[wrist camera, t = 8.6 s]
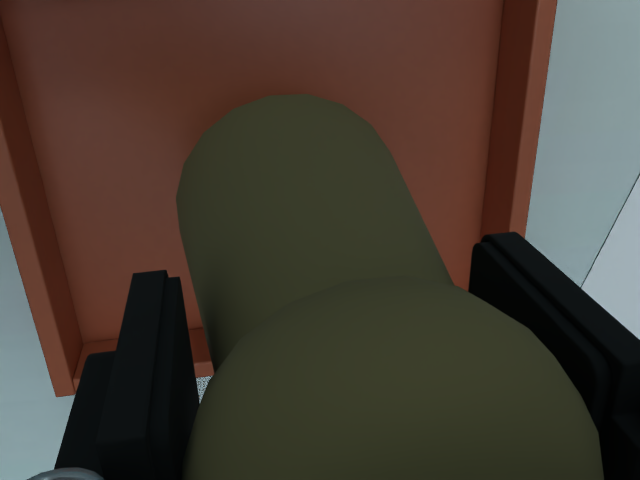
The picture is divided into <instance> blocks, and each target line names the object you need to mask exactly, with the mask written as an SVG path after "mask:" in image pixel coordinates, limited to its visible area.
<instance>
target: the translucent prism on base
mask: <svg viewBox="0 0 640 480" xmlns="http://www.w3.org/2000/svg"><path fill="white" fill-rule="evenodd" d="M581 289H582V290H583V291H585V292H586V293H587V294H588V295H589V296H590V297H591V298H593V299H594V300H595V301H596V302H597V303H598V304H599V305H601V306H602V307H603V308H604V309H605V310H606V311H607V312H609V313H610V314H611V315H612V316H613V317H614V318H615V319H617V320H618V321H619V322H620V323H621V324H622V325H623V326H625V327H626V328H627V329H628V330H629V331H630V332H631V333H632V334H634V335H635V336H636V337H637V338H638V339H639V340H640V176H639V178H638V180H637V182H636V184H635V186H634V188H633V190H632V192H631V194H630V195H629V197H628V199H627V201H626V203H625V205H624V207H623V209H622V211H621V213H620V215H619V217H618V218H617V220H616V222H615V224H614V226H613V228H612V230H611V232H610V234H609V236H608V238H607V240H606V242H605V243H604V245H603V247H602V249H601V251H600V253H599V255H598V257H597V259H596V261H595V263H594V265H593V266H592V268H591V270H590V272H589V274H588V276H587V278H586V280H585V282H584V284H583V286H582V288H581Z"/></svg>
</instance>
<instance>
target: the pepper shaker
mask: <svg viewBox="0 0 640 480" xmlns="http://www.w3.org/2000/svg"><path fill="white" fill-rule="evenodd" d="M176 205H177V213H178V222H179V230H180V235H181V239H182V243H183V247H184V251H185V255H186V259H187V264H188V268H189V272H190V276H191V280H192V284H193V288H194V292H195V296H196V300H197V304H198V309H199V313H200V317H201V321H202V325H203V329H204V333H205V337H206V341H207V345H208V349H209V354H210V358H211V362H212V366H213V370H214V375H213V377H212V378H211V379H210V381H209V382H208V385H207V387H206V390H205V392H204V395H203V398H202V400H201V403H200V405H199V408H198V410H197V414H196V417H195V421H194V424H193V427H192V431H191V434H190V438H189V441H188V445H187V448H186V451H185V455H184V458H183V463H182V479H181V480H604V474H603V466H602V458H601V450H600V442H599V435H598V431H597V429H596V427H595V425H594V422H593V420H592V418H591V416H590V414H589V412H588V409H587V407H586V405H585V403H584V401H583V399H582V396H581V395H580V393H579V392H578V390H577V389H576V387H575V386H574V384H573V383H572V381H571V380H570V378H569V377H568V376H567V374H566V373H565V371H564V370H563V368H562V367H561V365H560V364H559V362H558V361H557V359H556V358H555V356H554V355H553V354H552V353H551V352H550V351H549V350H548V349H547V348H546V347H545V345H544V344H543V343H542V342H541V341H540V340H539V339H538V338H537V337H536V336H535V335H534V334H533V332H532V331H531V330H530V329H529V328H527V327H526V326H524V325H522V324H521V323H519V322H517V321H516V320H514V319H513V318H511V317H509V316H508V315H506V314H505V313H503V312H501V311H500V310H498V309H496V308H495V307H493V306H492V305H490V304H488V303H487V302H485V301H483V300H482V299H480V298H478V297H476V296H475V295H473V294H471V293H469V292H467V291H466V290H464V289H462V288H460V287H459V286H455V285H454V283H453V281H452V279H451V277H450V275H449V273H448V270H447V268H446V266H445V264H444V262H443V260H442V258H441V256H440V254H439V252H438V250H437V248H436V246H435V243H434V241H433V239H432V237H431V235H430V233H429V231H428V229H427V227H426V225H425V223H424V221H423V218H422V216H421V214H420V212H419V210H418V208H417V206H416V204H415V202H414V200H413V198H412V196H411V193H410V191H409V189H408V187H407V185H406V183H405V181H404V179H403V177H402V175H401V173H400V171H399V168H398V166H397V164H396V162H395V160H394V158H393V156H392V154H391V152H390V150H389V149H388V148H387V146H386V145H385V143H384V142H383V140H382V139H381V138H380V136H379V135H378V133H377V132H376V130H375V129H374V128H373V126H372V125H371V124H370V123H369V122H367V121H366V120H364V119H363V118H361V117H360V116H359V115H357V114H356V113H354V112H353V111H352V110H350V109H349V108H347V107H346V106H345V105H343V104H340V103H337V102H334V101H330V100H327V99H323V98H320V97H316V96H313V95H310V94H292V95H269V96H266V97H264V98H261V99H258V100H256V101H253V102H250V103H248V104H245V105H242V106H240V107H237V108H234V109H232V110H231V111H230V112H229V113H227V114H226V115H225V116H224V117H222V118H221V119H220V120H219V121H217V122H216V123H215V124H214V125H212V126H211V127H210V128H209V129H207V130H206V131H205V132H204V133H203V134H202V136H201V137H200V139H199V140H198V142H197V144H196V145H195V147H194V148H193V150H192V151H191V153H190V155H189V156H188V158H187V159H186V161H185V162H184V164H183V169H182V173H181V177H180V181H179V186H178V190H177V194H176Z"/></svg>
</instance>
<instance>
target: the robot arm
mask: <svg viewBox="0 0 640 480" xmlns="http://www.w3.org/2000/svg"><path fill="white" fill-rule="evenodd" d="M468 292H469V293H471V294H473V295H475V296H476V297H478V298H480V299H482V300H483V301H485V302H487V303H488V304H490V305H492V306H493V307H495V308H496V309H498V310H500V311H501V312H503V313H505V314H506V315H508V316H509V317H511V318H513V319H514V320H516V321H517V322H519V323H521V324H522V325H524V326H526V327H527V328H529V329H530V330H531V331H532V332H533V334H534V335H535V336H536V337H537V338H538V339H539V340H540V341H541V342H542V343H543V344H544V345H545V347H546V348H547V349H548V350H549V351H550V352H551V353H552V354H553V355H554V356H555V358H556V359H557V361H558V362H559V364H560V365H561V367H562V368H563V370H564V371H565V373H566V374H567V376H568V377H569V378H570V380H571V381H572V383H573V384H574V386H575V387H576V389H577V390H578V392H579V393H580V395H581V396H582V399H583V401H584V403H585V405H586V407H587V409H588V412H589V414H590V416H591V418H592V420H593V422H594V425H595V427H596V429H597V431H598V435H599V442H600V450H601V458H602V466H603V474H604V480H640V340H639V339H638V338H637V337H636V336H635V335H634V334H632V333H631V332H630V331H629V330H628V329H627V328H626V327H625V326H623V325H622V324H621V323H620V322H619V321H618V320H617V319H615V318H614V317H613V316H612V315H611V314H610V313H609V312H607V311H606V310H605V309H604V308H603V307H602V306H601V305H599V304H598V303H597V302H596V301H595V300H594V299H593V298H591V297H590V296H589V295H588V294H587V293H586V292H585V291H583V290H582V289H581V288H580V287H579V286H578V285H577V284H575V283H574V282H573V281H572V280H571V279H570V278H569V277H567V276H566V275H565V274H564V273H563V272H562V271H561V270H560V269H558V268H557V267H556V266H555V265H554V264H553V263H552V262H550V261H549V260H548V259H547V258H546V257H545V256H544V255H542V254H541V253H540V252H539V251H538V250H537V249H536V248H534V247H533V246H532V245H531V244H530V243H529V242H528V241H526V240H525V239H524V238H523V237H522V236H521V235H520V234H518V233H517V232H505V233H496V234H487V235H484V236H483V237H482V239H481V242H480V243H476V244H475V245H474V246H473V249H472V256H471V267H470V277H469V288H468ZM199 405H200V403H199V395H198V388H197V382H196V376H195V369H194V363H193V356H192V350H191V343H190V337H189V330H188V324H187V317H186V311H185V304H184V298H183V291H182V285H181V280H180V277H179V276H178V277H168V273H167V270H158V271H148V272H139V273H133V275H132V279H131V284H130V288H129V293H128V297H127V302H126V306H125V311H124V316H123V320H122V325H121V329H120V334H119V338H118V343H117V347H116V350H115V351H107V352H100V353H92V354H89V355H88V356H87V358H86V361H85V364H84V367H83V371H82V374H81V378H80V381H79V384H78V388H77V391H76V395H75V398H74V402H73V405H72V409H71V412H70V416H69V419H68V422H67V426H66V429H65V433H64V436H63V440H62V443H61V447H60V450H59V454H58V457H57V460H56V464H55V467H54V470H50V471H47V472H43V473H40V474H38V475H36V476H33V477H31V478H29V479H27V480H181V479H182V463H183V458H184V455H185V451H186V448H187V445H188V441H189V438H190V434H191V431H192V427H193V424H194V421H195V417H196V414H197V410H198V408H199Z"/></svg>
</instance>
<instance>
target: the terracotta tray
mask: <svg viewBox="0 0 640 480" xmlns="http://www.w3.org/2000/svg"><path fill="white" fill-rule="evenodd" d="M556 6H557V0H0V206H1V210H2V213H3V217H4V220H5V223H6V227H7V230H8V234H9V237H10V241H11V244H12V248H13V251H14V254H15V258H16V261H17V265H18V268H19V272H20V275H21V278H22V282H23V285H24V289H25V292H26V296H27V299H28V302H29V306H30V309H31V313H32V316H33V320H34V323H35V326H36V330H37V333H38V337H39V340H40V344H41V347H42V350H43V354H44V357H45V361H46V364H47V368H48V371H49V374H50V378H51V381H52V385H53V388H54V392H55V395H56V397H62V396H69V395H75V393H76V391H77V388H78V384H79V381H80V378H81V374H82V371H83V367H84V364H85V361H86V358H87V356H88V355H89V354H92V353H100V352H107V351H115V350H116V347H117V343H118V338H119V334H120V329H121V325H122V320H123V316H124V311H125V306H126V302H127V297H128V293H129V288H130V284H131V279H132V275H133V273H139V272H148V271H158V270H167V273H168V277H178V276H179V277H180V280H181V285H182V291H183V298H184V304H185V311H186V317H187V324H188V330H189V337H190V343H191V350H192V356H193V363H194V369H195V376H196V378H199V377H206V376H213V375H214V370H213V366H212V362H211V358H210V354H209V349H208V345H207V341H206V337H205V333H204V329H203V325H202V321H201V317H200V313H199V309H198V304H197V300H196V296H195V292H194V288H193V284H192V280H191V276H190V272H189V268H188V264H187V259H186V255H185V251H184V247H183V243H182V239H181V235H180V230H179V222H178V213H177V205H176V194H177V190H178V186H179V181H180V177H181V173H182V169H183V164H184V162H185V161H186V159H187V158H188V156H189V155H190V153H191V151H192V150H193V148H194V147H195V145H196V144H197V142H198V140H199V139H200V137H201V136H202V134H203V133H204V132H205V131H206V130H207V129H209V128H210V127H211V126H212V125H214V124H215V123H216V122H217V121H219V120H220V119H221V118H222V117H224V116H225V115H226V114H227V113H229V112H230V111H231V110H232V109H234V108H237V107H240V106H242V105H245V104H248V103H250V102H253V101H256V100H258V99H261V98H264V97H266V96H269V95H292V94H310V95H313V96H316V97H320V98H323V99H327V100H330V101H334V102H337V103H340V104H343V105H345V106H346V107H347V108H349V109H350V110H352V111H353V112H354V113H356V114H357V115H359V116H360V117H361V118H363V119H364V120H366V121H367V122H369V123H370V124H371V125H372V126H373V128H374V129H375V130H376V132H377V133H378V135H379V136H380V138H381V139H382V140H383V142H384V143H385V145H386V146H387V148H388V149H389V150H390V152H391V154H392V156H393V158H394V160H395V162H396V164H397V166H398V168H399V171H400V173H401V175H402V177H403V179H404V181H405V183H406V185H407V187H408V189H409V191H410V193H411V196H412V198H413V200H414V202H415V204H416V206H417V208H418V210H419V212H420V214H421V216H422V218H423V221H424V223H425V225H426V227H427V229H428V231H429V233H430V235H431V237H432V239H433V241H434V243H435V246H436V248H437V250H438V252H439V254H440V256H441V258H442V260H443V262H444V264H445V266H446V268H447V270H448V273H449V275H450V277H451V279H452V281H453V283H454V285H455V286H459V287H460V288H462V289H464V290H466V291H467V292H468V288H469V277H470V267H471V256H472V249H473V246H474V245H475V244H476V243H480V242H481V239H482V237H483V236H484V235H487V234H496V233H505V232H517V233H518V234H520V235H521V236H522V237H523V238H524V239H525V232H526V225H527V218H528V210H529V203H530V196H531V189H532V181H533V174H534V167H535V159H536V152H537V145H538V138H539V130H540V123H541V116H542V108H543V101H544V94H545V87H546V79H547V72H548V65H549V57H550V50H551V43H552V36H553V28H554V21H555V14H556Z"/></svg>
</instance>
